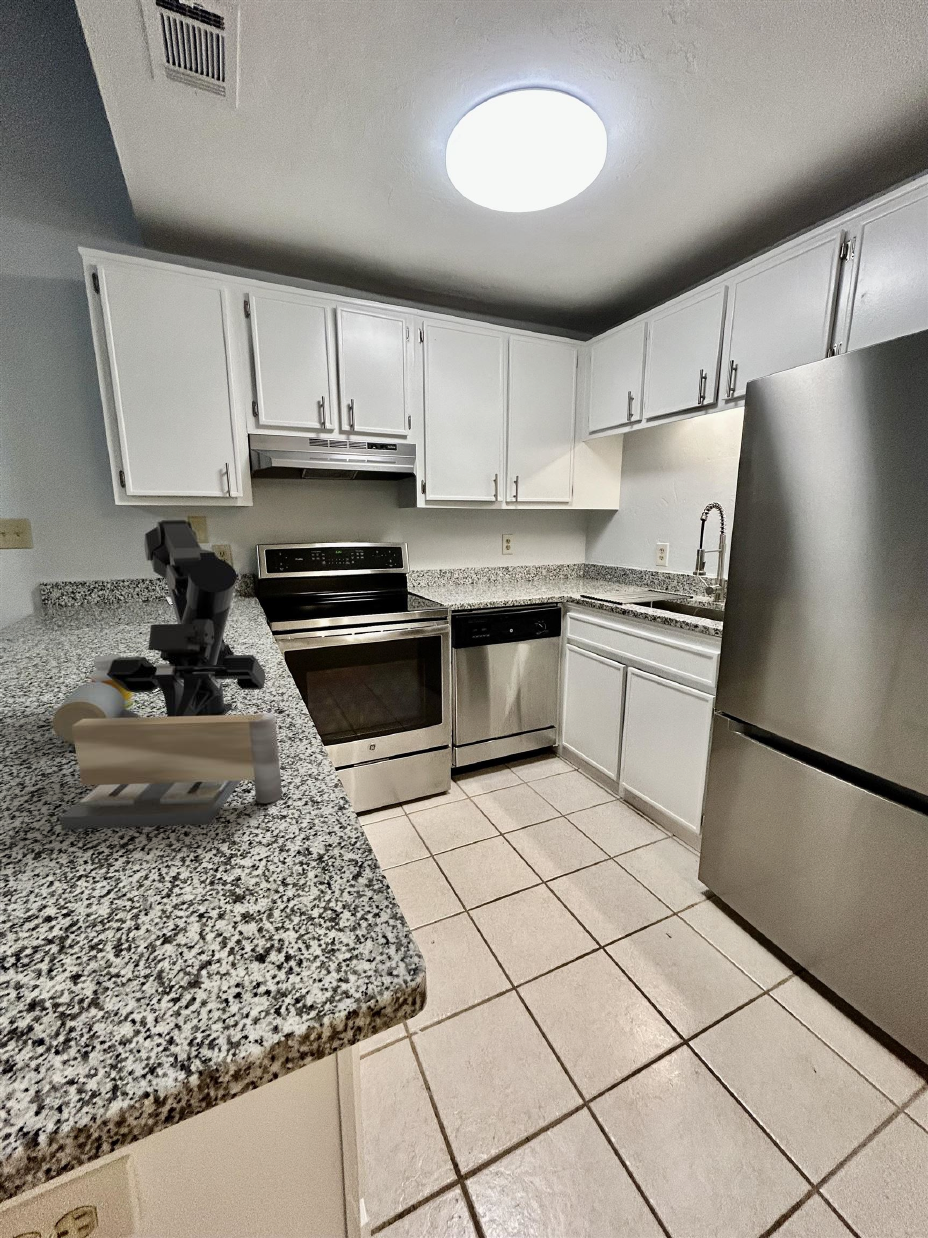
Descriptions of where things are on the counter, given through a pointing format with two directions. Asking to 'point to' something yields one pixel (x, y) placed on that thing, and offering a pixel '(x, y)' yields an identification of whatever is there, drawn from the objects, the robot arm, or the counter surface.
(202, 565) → the robot arm
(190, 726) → the swing bar
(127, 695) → the supplement bottle
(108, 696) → the ceramic mug
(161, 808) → the panel
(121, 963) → the counter surface
